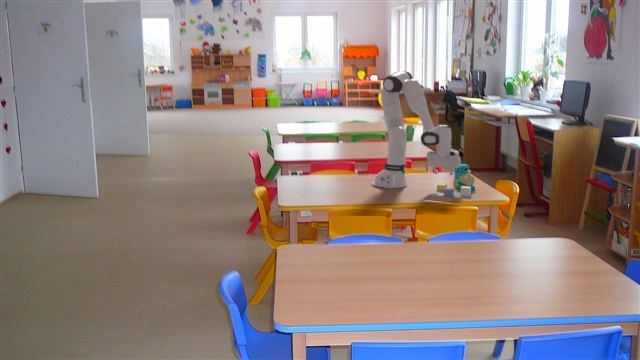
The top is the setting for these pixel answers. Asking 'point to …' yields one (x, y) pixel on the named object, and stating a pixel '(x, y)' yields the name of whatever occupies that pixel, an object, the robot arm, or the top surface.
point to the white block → (465, 191)
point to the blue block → (448, 192)
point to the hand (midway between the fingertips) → (443, 174)
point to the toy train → (463, 178)
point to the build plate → (465, 196)
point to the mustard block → (441, 187)
